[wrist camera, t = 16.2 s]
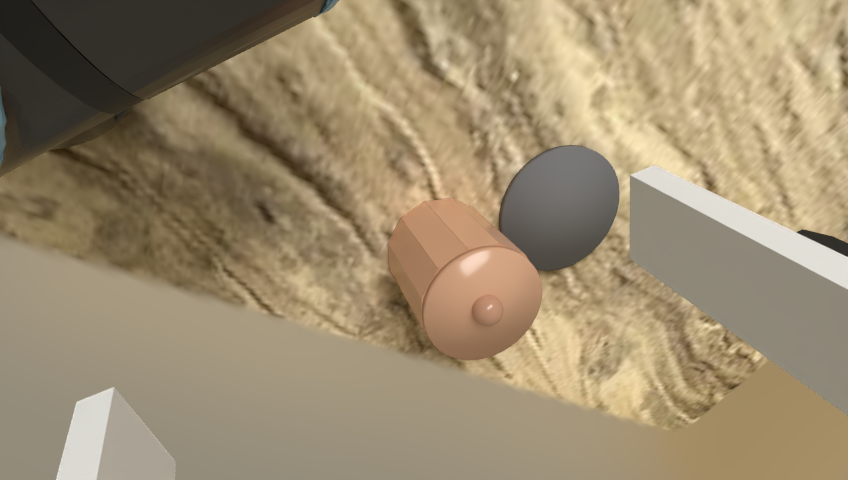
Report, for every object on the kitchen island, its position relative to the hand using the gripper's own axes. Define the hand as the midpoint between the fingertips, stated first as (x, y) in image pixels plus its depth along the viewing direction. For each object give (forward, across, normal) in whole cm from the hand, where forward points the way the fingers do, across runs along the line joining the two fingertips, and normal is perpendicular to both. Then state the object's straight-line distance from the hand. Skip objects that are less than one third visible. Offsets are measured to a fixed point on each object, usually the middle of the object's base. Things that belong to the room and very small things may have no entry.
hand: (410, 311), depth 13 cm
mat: (+29, +22, -20) cm, 42 cm away
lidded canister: (+30, +9, -20) cm, 37 cm away
